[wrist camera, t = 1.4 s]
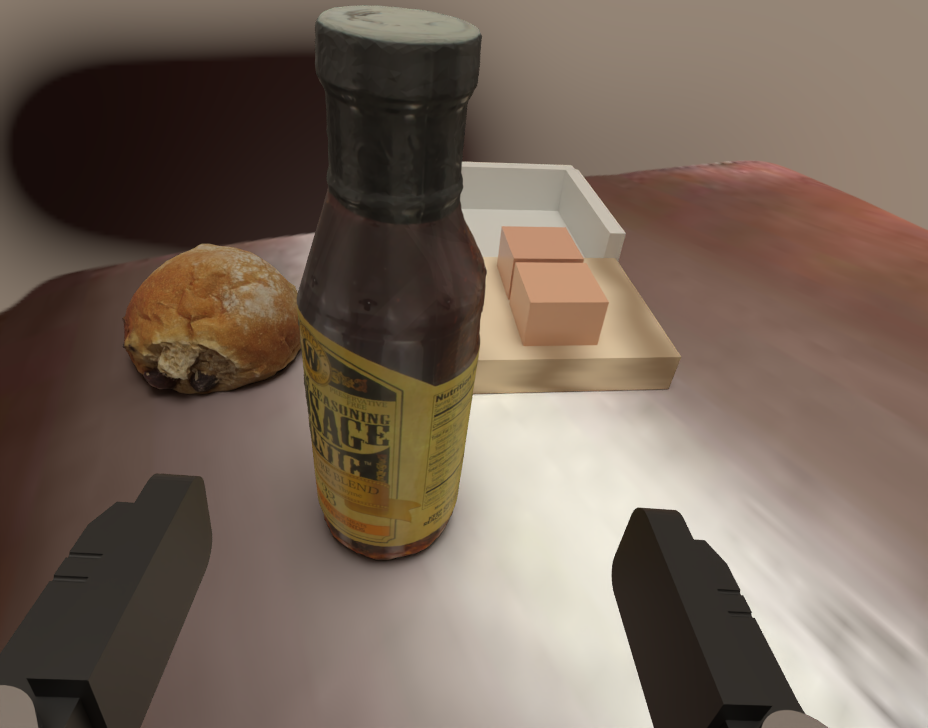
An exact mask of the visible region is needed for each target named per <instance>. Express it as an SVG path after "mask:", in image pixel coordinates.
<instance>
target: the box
mask: <svg viewBox="0 0 928 728" xmlns="http://www.w3.org/2000/svg"><path fill="white" fill-rule="evenodd" d="M461 173H462V177H463V190H462V192H461V195H460V202H461V209H462V212H463V215H464V219H465V221H466V223H467V225H468V227H469V229H470V231H471V233H472V234H473V236H474V238H475V241H476V244H477V246H478V247H479V249H480V252H481V254H482V257H498V252H499V244H500V236H501V227H502V226H517V227H566V229H567V230H568V232H569V234H570V235H571V237H572V239H573V241H574V242H575V244H576V246H577V248H578V249H579V251H580V253H581V255H582V256H583V258H616V260H617V261H618V260H619V257H620V253H621V249H622V246H623V242H624V238H625V235H626V233H625V232H624V230H623V229H622V228H621V226H620V225H619V224H618V222H617V221H616V220H615V218H614V217H613V216H612V214H611V213H610V212H609V210H608V209H607V208H606V206H605V205H604V204H603V202H602V201H601V200H600V198H599V197H598V196H597V194H596V193H595V192H594V190H593V189H592V188H591V186H590V185H589V184H588V182H587V181H586V180H585V178H584V177H583V176H582V174H581V173H580V172H579V170H575V169H574V168H573V167H572V165H545V164H544V165H543V164H513V163H484V162H462V170H461Z"/></svg>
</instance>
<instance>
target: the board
mask: <svg viewBox="0 0 928 728" xmlns="http://www.w3.org/2000/svg"><path fill="white" fill-rule="evenodd" d="M483 259H484V263H485V267H486V270H487V275H486V288H485V299H484V306H483V312H482V313H481V319H480V332H479V333H480V350H479V357H478V363H477V370H476V376H475V382H474V389H473V394H483V393H524V392H565V391H606V390H647V389H669V386H670V384H671V381H672V379H673V376H674V374H675V371H676V369H677V366H678V364H679V361H680V359H681V356H680V354H679V353H678V351H677V350H676V348H675V347H674V345H673V344H672V342H671V341H670V339H669V338H668V336H667V335H666V333H665V332H664V330H663V329H662V327H661V326H660V324H659V323H658V321H657V320H656V318H655V317H654V315H653V314H652V312H651V311H650V309H649V308H648V306H647V305H646V303H645V302H644V300H643V299H642V297H641V296H640V294H639V293H638V291H637V290H636V288H635V287H634V285H633V284H632V282H631V281H630V279H629V278H628V276H627V275H626V273H625V272H624V270H623V269H622V267H621V266H620V264H619V263H618V261H617V260H616V258H584V261H583V263H587V265H588V267H589V268H590V270H591V272H592V274H593V275H594V277H595V279H596V281H597V282H598V284H599V286H600V288H601V289H602V291H603V293H604V294H605V296H606V298H607V300H608V301H609V304H608V308H607V312H606V315H605V319H604V323H603V326H602V330H601V333H600V337H599V341H598V344H597V345H573V346H523V344H522V341H521V338H520V335H519V332H518V329H517V326H516V323H515V320H514V317H513V314H512V310H511V307H510V304H509V303H510V300H508V298H507V295H506V292H505V289H504V286H503V283H502V280H501V277H500V274H499V271H498V267H497V260H498V257H483Z"/></svg>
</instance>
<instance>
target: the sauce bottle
mask: <svg viewBox="0 0 928 728" xmlns="http://www.w3.org/2000/svg"><path fill="white" fill-rule="evenodd" d="M315 36H316V39H315V44H316V45H315V54H316V58H315V66H316V74H317V76H318V78H319V80H320V82H321V84H322V85H323V87H324V89H325V93H326V110H327V135H328V156H329V168H328V170H327V183H328V190H327V194H326V198H325V201H324V204H323V208H322V211H321V215H320V218H319V222H318V225H317V229H316V232H315V236H314V239H313V243H312V246H311V249H310V253H309V256H308V260H307V263H306V267H305V270H304V274H303V277H302V281H301V284H300V287H299V291H298V294H297V299H296V301H297V312H298V325H299V330H300V343H301V349H302V358H303V368H304V384H305V391H306V399H307V406H308V414H309V427H310V432H311V440H312V448H313V457H314V467H315V476H316V484H317V492H318V499H319V503H320V506H321V509H322V511H323V513H324V518H325V521H326V522H327V524H328V527H329V528H330V531H331V533H332V535H333V537H335V538H336V539H337V540H338V541H340V542H341V543H342V544H343V545H345V546H346V547H348V548H349V549H351V550H353V551H355V552H356V553H360V554H363V555H365V556H366V557H369V558H372V559H375V560H380V559H382V560H389V559H394V558H396V557H401V556H407V555H410V554H414V553H418V552H419V551H421V550H423V549H426V548H427V547H428V546H429V545H430V544H431V543H432V542H433V541H434V540H435V539H436V538H437V537H439V536H440V534H441V533H442V531H443V530H444V528H445V526H446V525H447V522H448V520H449V518H450V516H451V515H452V512H453V509H454V506H455V503H456V500H457V495H458V489H459V482H460V476H461V470H462V463H463V457H464V449H465V442H466V435H467V429H468V422H469V415H470V409H471V402H472V395H473V389H474V382H475V376H476V370H477V363H478V357H479V350H480V333H479V332H480V319H481V313H482V312H483V306H484V299H485V288H486V275H487V270H486V267H485V263H484V259H483V257H482V254H481V252H480V249H479V247H478V246H477V244H476V241H475V238H474V236H473V234H472V233H471V231H470V229H469V227H468V225H467V223H466V221H465V219H464V215H463V212H462V209H461V202H460V195H461V192H462V190H463V177H462V173H461V170H462V157H463V156H462V155H463V147H464V135H465V124H466V115H467V104H468V100H469V99H470V97H471V96H472V94H473V92H474V90H475V88H476V86H477V83H478V76H479V67H480V50H481V39H482V36H481V33H480V31H479V29H478V28H477V27H475V26H473V25H472V24H470V23H468V22H466V21H464V20H461V19H458V18H456V17H450V16H448V15H444V14H439V13H435V12H430V11H424V10H419V9H405V8H398V7H384V6H366V5H364V6H346V7H341V8H340V7H335V8H331V9H329V10H326V11H324V12H323V13H321V15H320V16H319V17H318V19H317V21H316V24H315Z"/></svg>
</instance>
